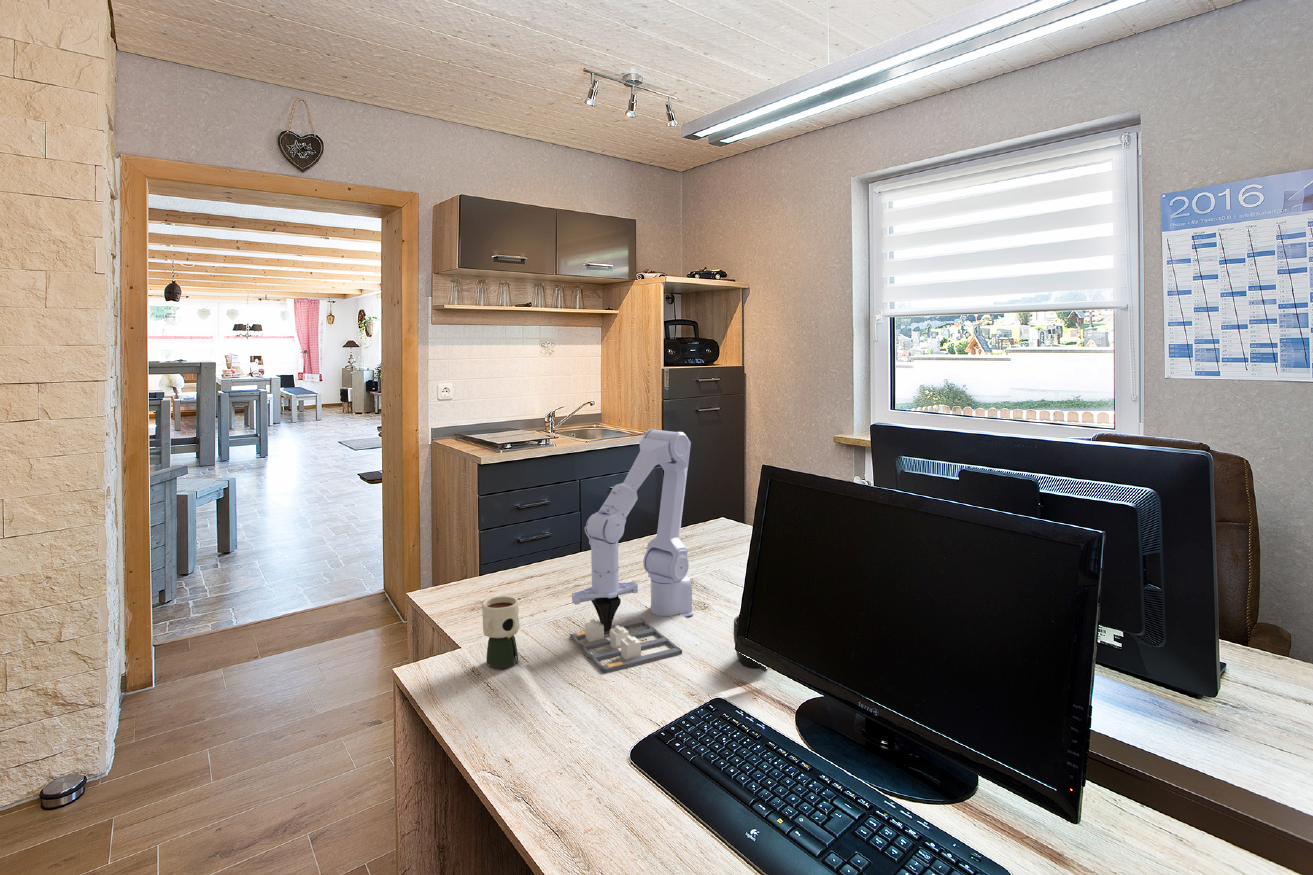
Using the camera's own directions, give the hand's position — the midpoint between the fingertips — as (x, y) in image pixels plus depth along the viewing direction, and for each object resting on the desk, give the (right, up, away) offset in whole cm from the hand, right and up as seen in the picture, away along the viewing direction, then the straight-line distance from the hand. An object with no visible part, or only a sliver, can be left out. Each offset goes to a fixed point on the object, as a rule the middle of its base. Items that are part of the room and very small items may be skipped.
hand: (606, 629), depth 145 cm
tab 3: (+6, -3, -9) cm, 11 cm away
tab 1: (-2, -2, -1) cm, 3 cm away
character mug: (-20, -4, -9) cm, 23 cm away
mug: (+31, -4, -9) cm, 32 cm away
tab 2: (+3, -2, -4) cm, 6 cm away
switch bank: (+4, -3, -4) cm, 6 cm away
